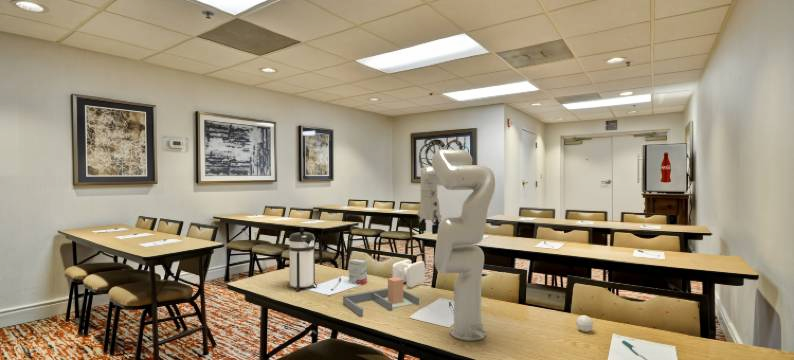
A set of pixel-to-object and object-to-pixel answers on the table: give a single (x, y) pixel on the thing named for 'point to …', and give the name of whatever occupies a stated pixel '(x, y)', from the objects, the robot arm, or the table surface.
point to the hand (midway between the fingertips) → (429, 232)
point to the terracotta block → (395, 290)
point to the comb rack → (377, 300)
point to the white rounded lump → (584, 323)
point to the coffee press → (302, 260)
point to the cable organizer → (410, 272)
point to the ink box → (358, 271)
